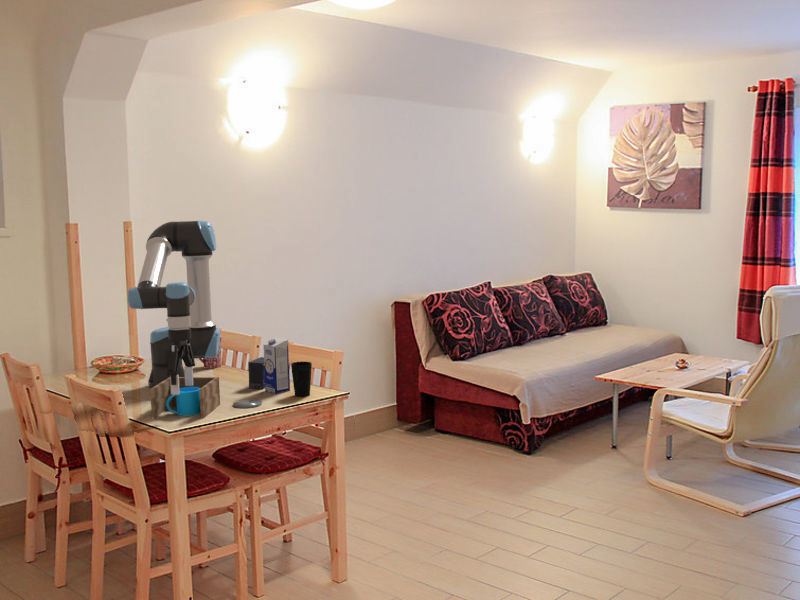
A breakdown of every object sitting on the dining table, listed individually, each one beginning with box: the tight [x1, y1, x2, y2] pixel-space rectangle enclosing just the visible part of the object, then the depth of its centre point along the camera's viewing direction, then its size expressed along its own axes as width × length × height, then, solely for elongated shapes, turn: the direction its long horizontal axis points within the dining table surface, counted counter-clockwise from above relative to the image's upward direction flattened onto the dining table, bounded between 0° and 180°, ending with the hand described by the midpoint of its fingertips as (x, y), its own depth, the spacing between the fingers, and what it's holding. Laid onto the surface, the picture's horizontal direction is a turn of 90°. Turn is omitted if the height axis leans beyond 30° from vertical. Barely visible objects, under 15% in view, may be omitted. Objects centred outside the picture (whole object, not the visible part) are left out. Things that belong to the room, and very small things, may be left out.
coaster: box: [232, 399, 263, 409], centre depth 286 cm, size 10×10×1 cm
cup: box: [290, 361, 313, 398], centre depth 298 cm, size 8×8×12 cm
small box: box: [247, 356, 265, 390], centre depth 315 cm, size 11×6×10 cm, turn 161°
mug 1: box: [166, 387, 201, 417], centre depth 276 cm, size 12×8×8 cm
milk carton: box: [263, 337, 291, 395], centre depth 305 cm, size 7×7×20 cm
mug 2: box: [198, 335, 223, 369], centre depth 352 cm, size 13×9×14 cm
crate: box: [149, 376, 221, 419], centre depth 278 cm, size 18×18×10 cm
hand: (182, 389), depth 275 cm, fingers open, 13 cm apart
